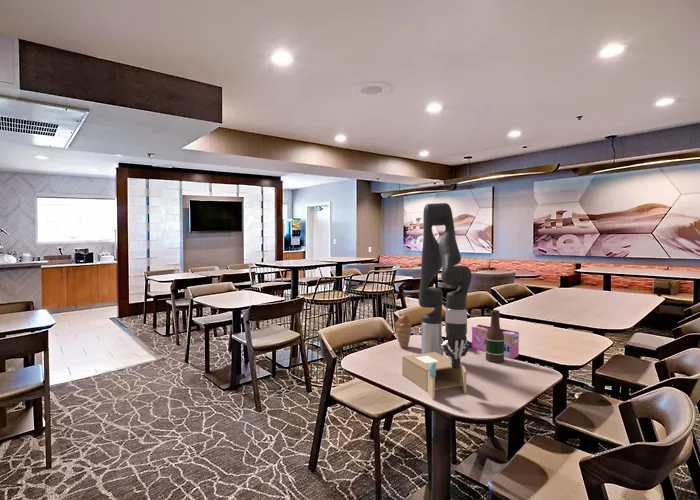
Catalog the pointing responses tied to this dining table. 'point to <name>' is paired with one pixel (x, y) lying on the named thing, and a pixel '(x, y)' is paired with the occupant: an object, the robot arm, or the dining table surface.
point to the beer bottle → (495, 340)
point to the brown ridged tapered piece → (403, 330)
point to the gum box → (509, 341)
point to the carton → (420, 365)
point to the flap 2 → (464, 379)
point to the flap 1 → (432, 380)
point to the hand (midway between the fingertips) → (455, 368)
